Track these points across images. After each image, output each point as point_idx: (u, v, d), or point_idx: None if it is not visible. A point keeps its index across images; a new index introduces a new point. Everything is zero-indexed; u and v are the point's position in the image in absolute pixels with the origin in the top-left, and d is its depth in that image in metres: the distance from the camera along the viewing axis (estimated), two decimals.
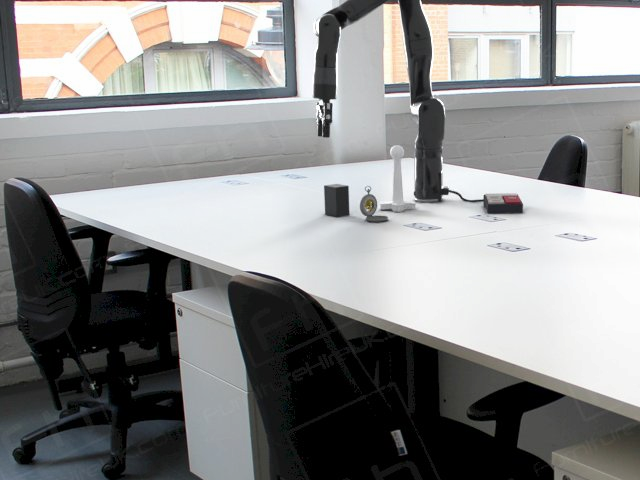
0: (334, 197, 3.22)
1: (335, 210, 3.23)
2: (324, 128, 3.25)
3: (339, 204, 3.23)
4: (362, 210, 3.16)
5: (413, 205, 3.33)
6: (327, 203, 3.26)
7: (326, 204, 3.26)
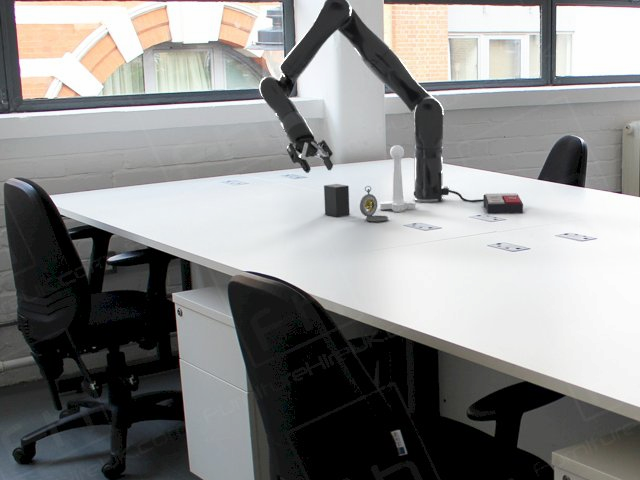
0: (334, 197, 3.22)
1: (335, 210, 3.23)
2: None
3: (339, 204, 3.23)
4: (362, 210, 3.16)
5: (413, 205, 3.33)
6: (327, 203, 3.26)
7: (326, 204, 3.26)
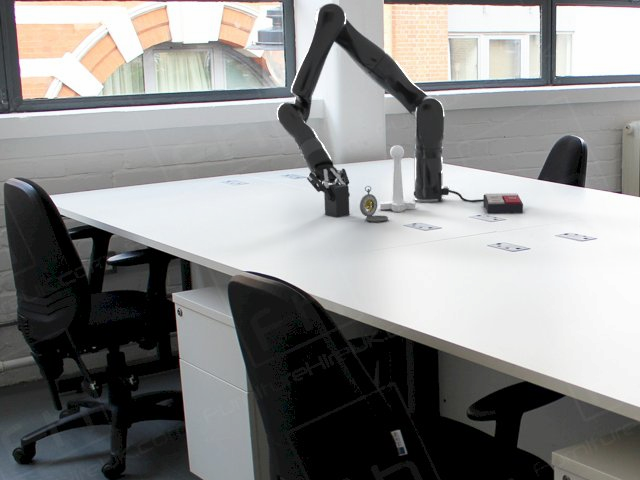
0: None
1: (335, 210, 3.23)
2: None
3: (339, 204, 3.23)
4: (362, 210, 3.16)
5: (413, 205, 3.33)
6: (327, 203, 3.26)
7: (326, 204, 3.26)
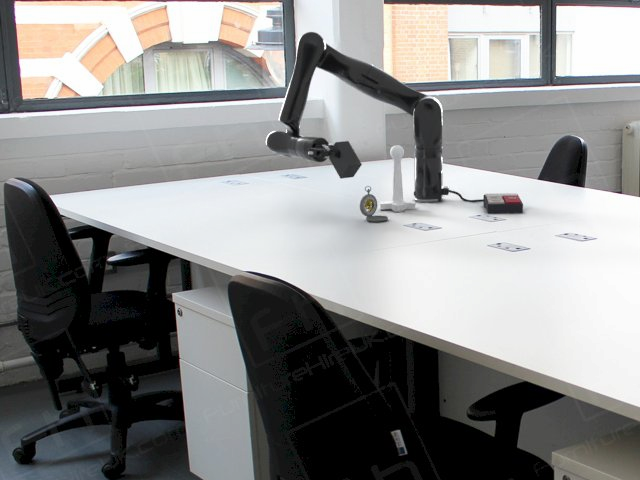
0: None
1: (345, 161, 3.14)
2: (331, 156, 3.17)
3: (347, 155, 3.15)
4: (362, 210, 3.16)
5: (413, 205, 3.33)
6: (337, 165, 3.17)
7: (336, 168, 3.18)
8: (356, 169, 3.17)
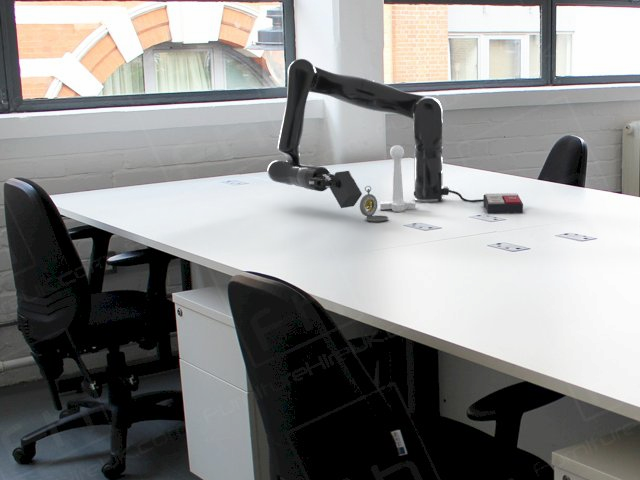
0: None
1: (345, 191, 3.17)
2: (331, 186, 3.20)
3: (347, 185, 3.18)
4: (362, 210, 3.16)
5: (413, 205, 3.33)
6: (337, 195, 3.21)
7: (337, 197, 3.21)
8: (356, 198, 3.20)
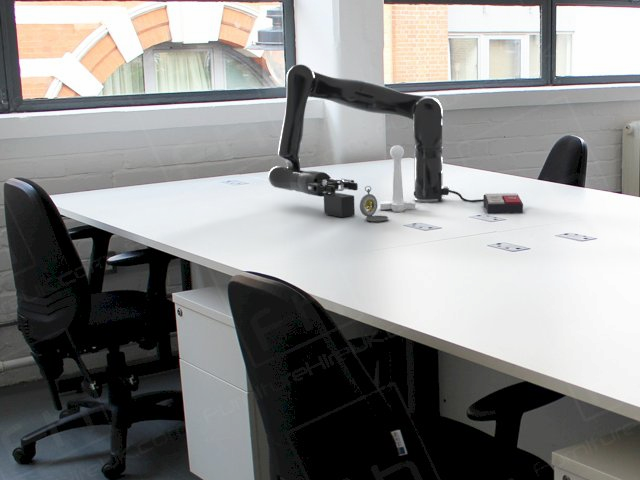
0: (329, 197, 3.24)
1: (337, 198, 3.21)
2: (327, 191, 3.20)
3: (337, 195, 3.23)
4: (362, 210, 3.16)
5: (413, 205, 3.33)
6: (334, 210, 3.24)
7: (335, 212, 3.24)
8: (351, 203, 3.23)
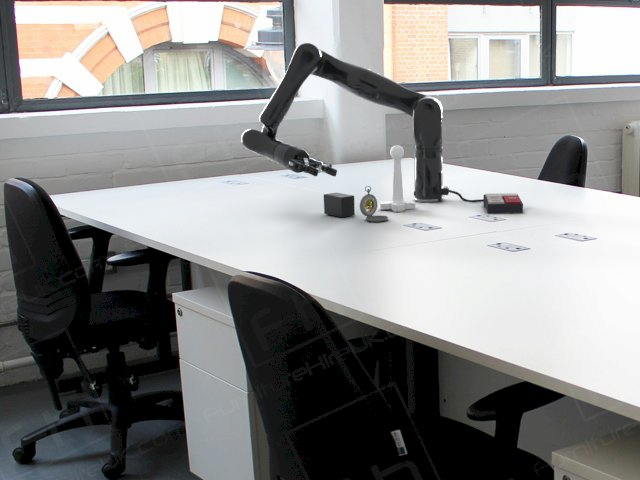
0: (329, 197, 3.24)
1: (337, 198, 3.21)
2: (309, 172, 3.27)
3: (337, 195, 3.23)
4: (362, 210, 3.16)
5: (413, 205, 3.33)
6: (334, 210, 3.24)
7: (335, 212, 3.24)
8: (351, 203, 3.23)
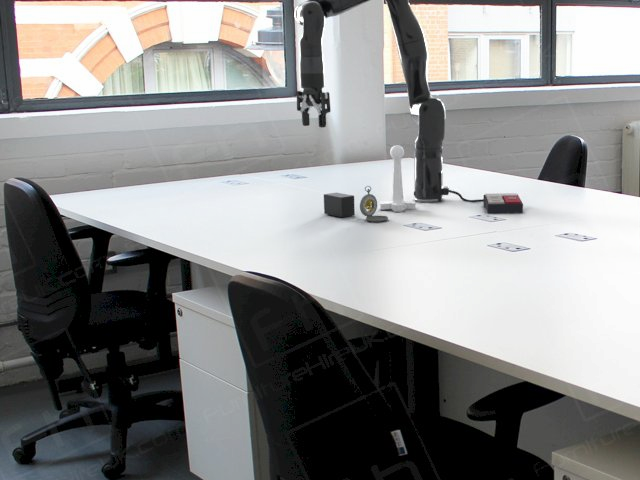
0: (329, 197, 3.24)
1: (337, 198, 3.21)
2: (321, 118, 3.21)
3: (337, 195, 3.23)
4: (362, 210, 3.16)
5: (413, 205, 3.33)
6: (334, 210, 3.24)
7: (335, 212, 3.24)
8: (351, 203, 3.23)
